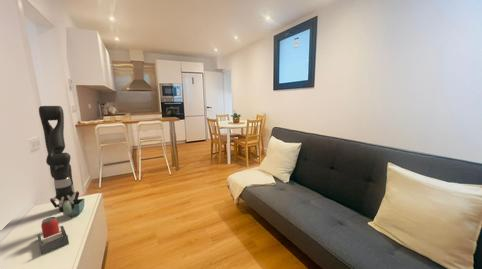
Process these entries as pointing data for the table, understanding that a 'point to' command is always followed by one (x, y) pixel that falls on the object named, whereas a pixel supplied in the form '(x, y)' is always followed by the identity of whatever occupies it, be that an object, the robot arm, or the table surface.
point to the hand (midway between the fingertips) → (67, 210)
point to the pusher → (52, 238)
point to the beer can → (50, 227)
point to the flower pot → (77, 207)
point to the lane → (53, 243)
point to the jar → (66, 207)
